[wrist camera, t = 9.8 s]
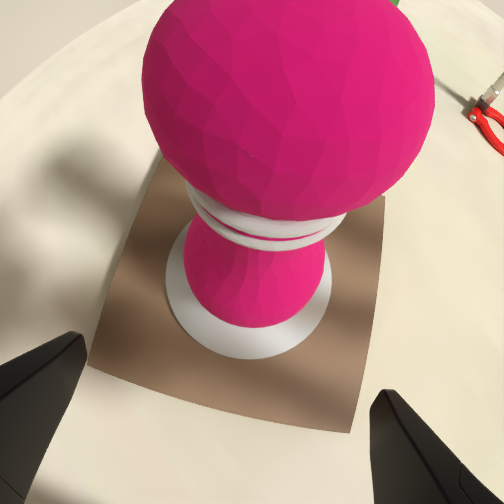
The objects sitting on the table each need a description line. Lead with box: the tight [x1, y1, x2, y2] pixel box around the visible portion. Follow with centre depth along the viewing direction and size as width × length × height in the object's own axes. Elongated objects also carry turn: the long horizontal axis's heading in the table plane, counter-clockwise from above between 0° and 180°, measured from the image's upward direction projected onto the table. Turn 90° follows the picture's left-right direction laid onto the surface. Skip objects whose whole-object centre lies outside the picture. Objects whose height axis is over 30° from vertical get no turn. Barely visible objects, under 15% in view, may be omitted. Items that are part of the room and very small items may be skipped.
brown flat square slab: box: [87, 156, 385, 433], centre depth 22 cm, size 18×18×2 cm
